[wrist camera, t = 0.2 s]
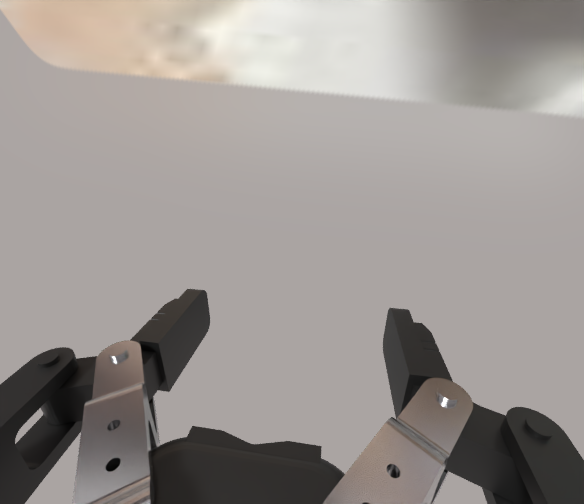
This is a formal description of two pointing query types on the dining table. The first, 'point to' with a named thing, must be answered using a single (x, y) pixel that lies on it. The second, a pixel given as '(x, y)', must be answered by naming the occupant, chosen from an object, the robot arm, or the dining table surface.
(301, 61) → the dining table surface
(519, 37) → the dining table surface
